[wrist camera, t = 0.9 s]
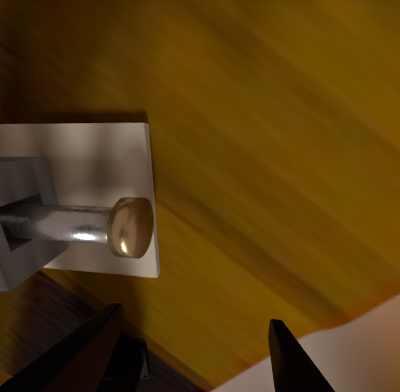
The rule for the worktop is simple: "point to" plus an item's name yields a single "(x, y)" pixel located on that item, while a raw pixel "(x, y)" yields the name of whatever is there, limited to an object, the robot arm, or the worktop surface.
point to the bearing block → (73, 191)
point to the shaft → (85, 224)
